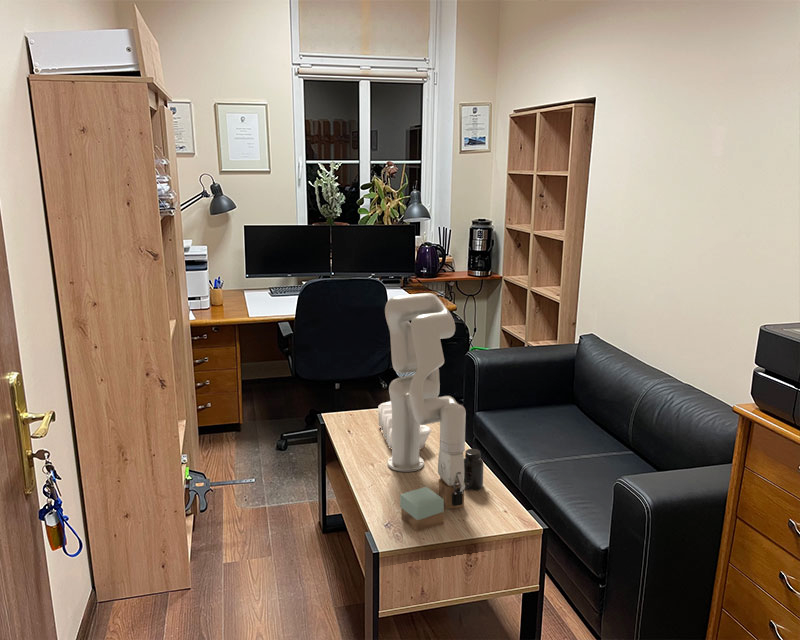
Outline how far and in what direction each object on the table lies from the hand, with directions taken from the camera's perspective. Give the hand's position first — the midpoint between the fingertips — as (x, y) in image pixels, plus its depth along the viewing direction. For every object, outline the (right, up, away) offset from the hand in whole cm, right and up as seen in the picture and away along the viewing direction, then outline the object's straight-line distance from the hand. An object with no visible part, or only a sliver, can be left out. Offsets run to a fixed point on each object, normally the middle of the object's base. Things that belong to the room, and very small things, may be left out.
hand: (451, 498), depth 199 cm
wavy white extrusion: (-14, +10, +52) cm, 55 cm away
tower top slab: (-9, 0, -11) cm, 14 cm away
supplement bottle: (+8, +1, +11) cm, 14 cm away
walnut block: (0, -2, 0) cm, 2 cm away
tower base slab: (-9, -4, -10) cm, 14 cm away
